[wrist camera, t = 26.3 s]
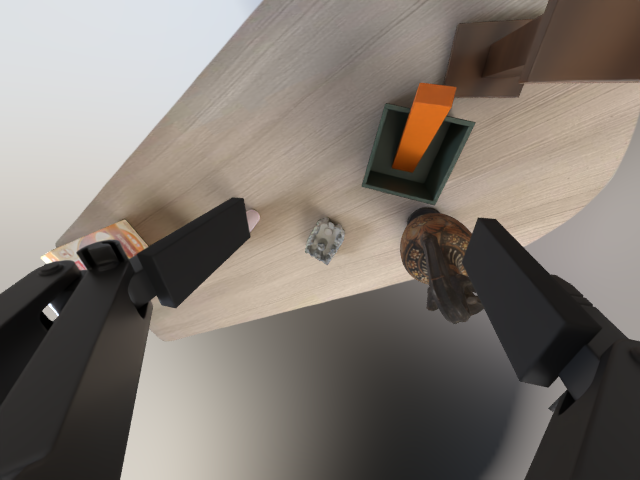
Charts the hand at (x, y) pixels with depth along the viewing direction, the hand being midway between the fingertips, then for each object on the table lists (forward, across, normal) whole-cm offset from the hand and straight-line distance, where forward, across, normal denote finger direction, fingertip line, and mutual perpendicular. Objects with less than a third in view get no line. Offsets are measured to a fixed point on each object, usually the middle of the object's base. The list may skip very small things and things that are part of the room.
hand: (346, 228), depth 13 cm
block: (+29, +6, +3) cm, 30 cm away
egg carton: (+37, -9, -22) cm, 44 cm away
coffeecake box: (+37, -74, -32) cm, 89 cm away
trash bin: (+37, +6, 0) cm, 37 cm away
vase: (+37, +12, -15) cm, 42 cm away
